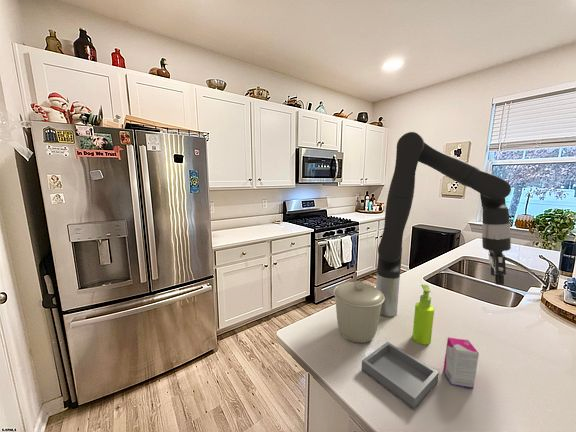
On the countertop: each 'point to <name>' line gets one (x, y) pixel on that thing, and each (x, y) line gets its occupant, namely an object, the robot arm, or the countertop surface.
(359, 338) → the canister
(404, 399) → the tray
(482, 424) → the countertop surface
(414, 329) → the soap dispenser
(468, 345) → the supplement box
